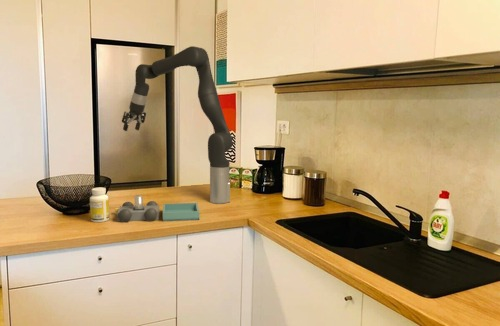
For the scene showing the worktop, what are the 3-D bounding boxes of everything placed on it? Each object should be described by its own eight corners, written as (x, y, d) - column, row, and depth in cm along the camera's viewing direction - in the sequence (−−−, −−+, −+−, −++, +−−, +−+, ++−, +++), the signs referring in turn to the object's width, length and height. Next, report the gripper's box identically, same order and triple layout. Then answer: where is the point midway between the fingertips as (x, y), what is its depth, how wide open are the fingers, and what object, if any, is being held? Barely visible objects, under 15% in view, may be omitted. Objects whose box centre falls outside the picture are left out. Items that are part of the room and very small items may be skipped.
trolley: (159, 211, 178) (159, 200, 177) (158, 221, 165) (158, 208, 164) (115, 213, 175) (115, 201, 174) (111, 222, 161) (110, 210, 161)
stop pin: (143, 215, 172) (142, 194, 170) (142, 218, 169) (142, 196, 167) (135, 216, 171) (134, 195, 170) (134, 218, 168) (134, 196, 167)
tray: (197, 210, 182) (197, 202, 181) (199, 219, 167) (199, 211, 167) (163, 211, 179) (163, 203, 178) (162, 221, 165) (162, 212, 164)
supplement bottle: (103, 216, 170) (102, 186, 168) (113, 219, 166) (111, 188, 164) (87, 220, 165) (85, 188, 163) (96, 223, 160) (95, 191, 158)
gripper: (133, 104, 208) (125, 133, 213) (152, 104, 220) (145, 132, 225) (123, 99, 210) (116, 128, 216) (142, 99, 223) (135, 126, 228)
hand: (131, 130), depth 220 cm, fingers open, 8 cm apart
